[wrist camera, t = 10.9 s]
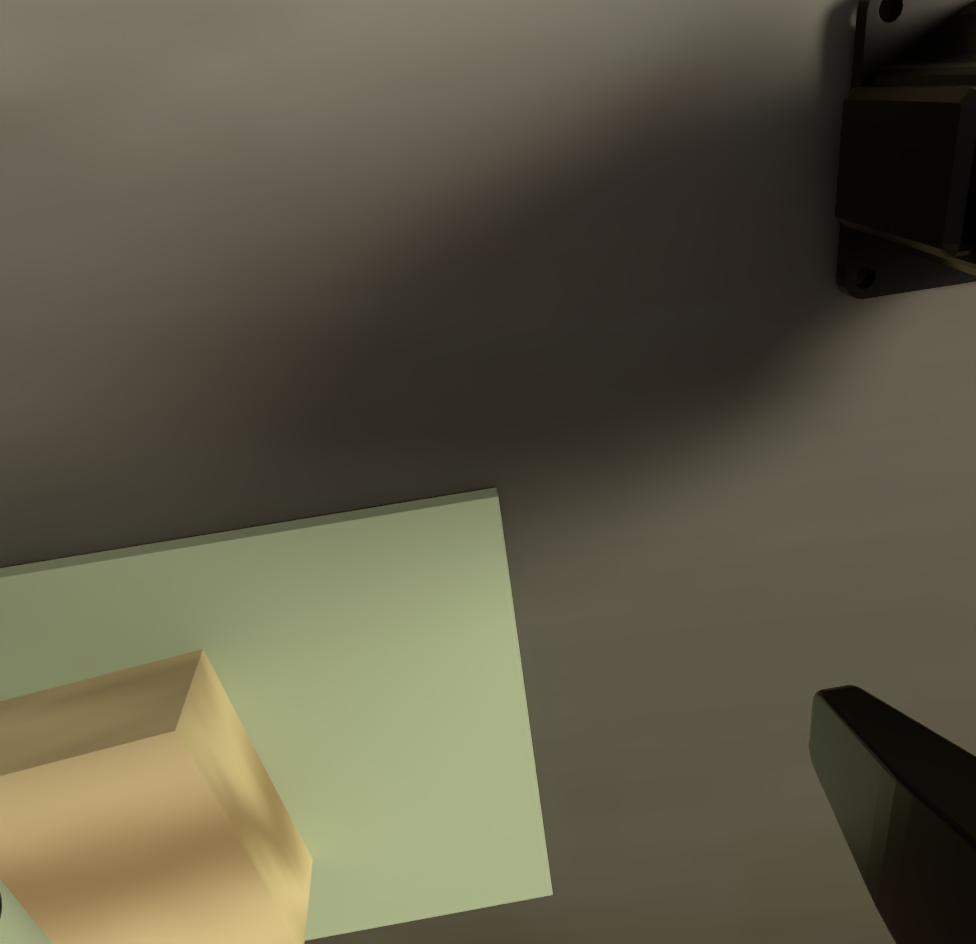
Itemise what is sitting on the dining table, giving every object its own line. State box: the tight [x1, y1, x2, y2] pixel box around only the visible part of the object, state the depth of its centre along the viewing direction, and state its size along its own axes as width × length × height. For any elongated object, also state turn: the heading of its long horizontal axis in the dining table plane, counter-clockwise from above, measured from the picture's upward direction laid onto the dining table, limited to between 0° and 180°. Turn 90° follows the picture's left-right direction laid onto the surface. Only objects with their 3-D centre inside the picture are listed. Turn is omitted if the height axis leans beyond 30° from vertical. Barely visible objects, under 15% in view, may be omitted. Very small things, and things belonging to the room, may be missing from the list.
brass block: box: [0, 649, 313, 944], centre depth 22 cm, size 9×6×3 cm, turn 13°
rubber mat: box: [0, 488, 553, 944], centre depth 23 cm, size 22×16×1 cm
